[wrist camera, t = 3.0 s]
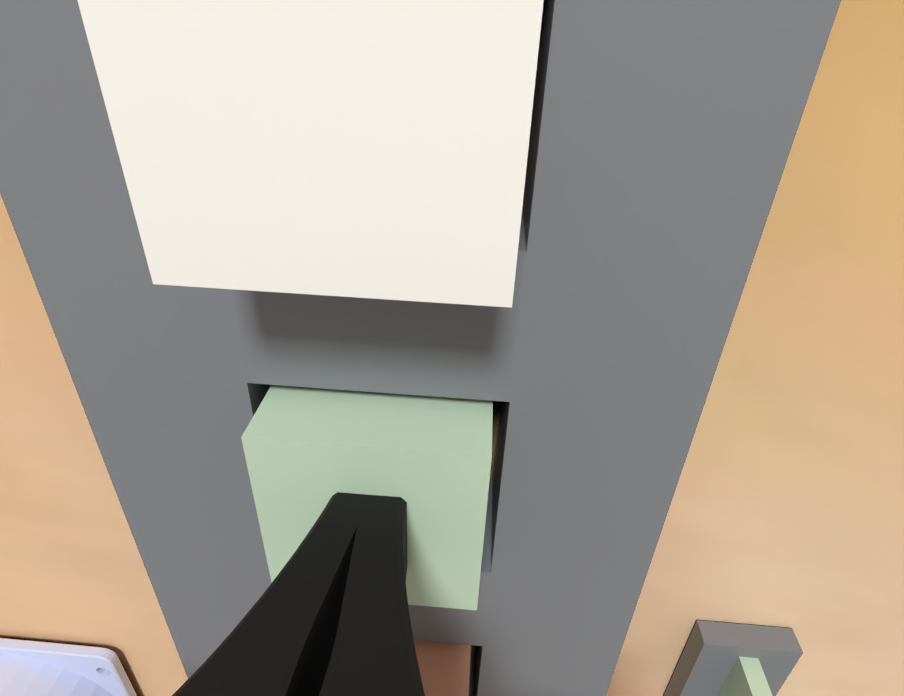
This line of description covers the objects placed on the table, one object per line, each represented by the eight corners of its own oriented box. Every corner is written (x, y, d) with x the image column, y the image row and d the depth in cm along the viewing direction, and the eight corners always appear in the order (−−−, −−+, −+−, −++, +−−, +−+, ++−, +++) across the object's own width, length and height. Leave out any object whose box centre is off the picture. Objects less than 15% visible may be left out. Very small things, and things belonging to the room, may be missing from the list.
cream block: (508, 202, 10) (511, 307, 7) (265, 188, 10) (153, 284, 7) (536, -112, 8) (562, -187, 5) (222, -123, 8) (23, -203, 5)
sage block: (481, 475, 16) (476, 610, 12) (322, 463, 16) (273, 592, 12) (493, 337, 13) (491, 456, 10) (306, 324, 13) (241, 437, 10)
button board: (566, 691, 21) (574, 786, 19) (249, 661, 22) (216, 750, 19) (845, -357, 8) (1021, -533, 5) (-35, -371, 8) (-282, -537, 6)
